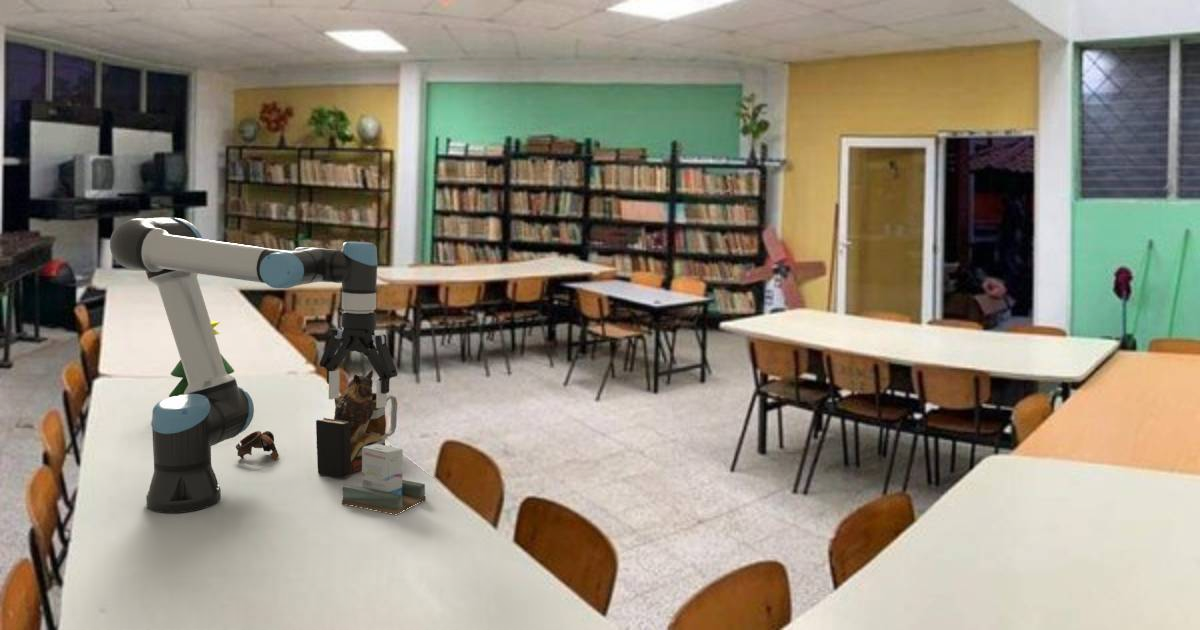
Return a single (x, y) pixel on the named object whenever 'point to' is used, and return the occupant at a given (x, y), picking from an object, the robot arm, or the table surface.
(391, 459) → the ink box
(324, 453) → the bookend
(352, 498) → the track
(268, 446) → the brown carved ornament
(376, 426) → the mug
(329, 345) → the robot arm
